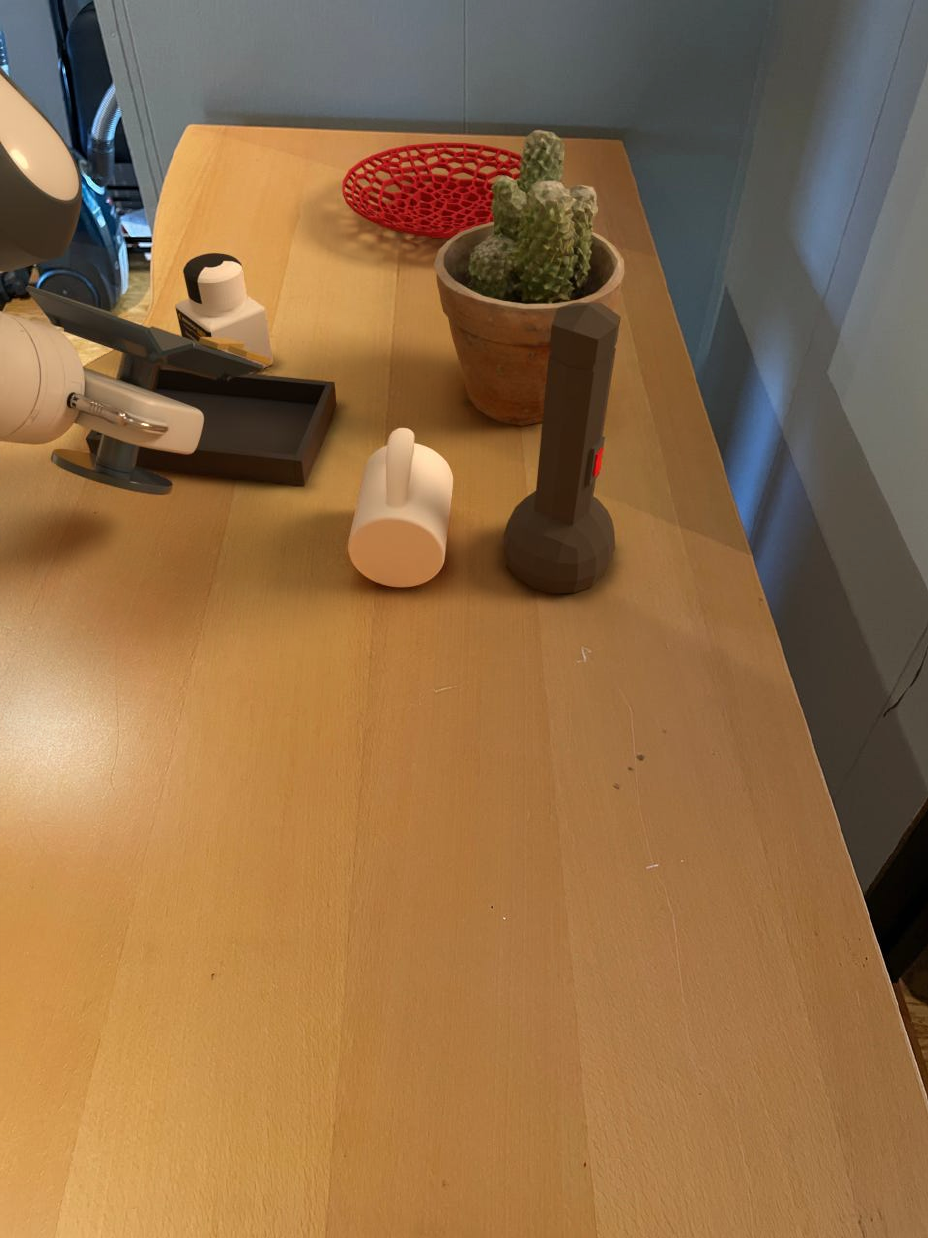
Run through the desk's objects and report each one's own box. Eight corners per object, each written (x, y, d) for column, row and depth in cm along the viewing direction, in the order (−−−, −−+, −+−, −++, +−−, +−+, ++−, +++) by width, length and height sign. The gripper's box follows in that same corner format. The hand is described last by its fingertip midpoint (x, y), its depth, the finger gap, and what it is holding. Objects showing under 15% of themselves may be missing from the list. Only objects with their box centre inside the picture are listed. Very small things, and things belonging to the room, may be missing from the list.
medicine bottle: (186, 361, 106) (163, 259, 97) (240, 339, 109) (222, 239, 100) (220, 388, 102) (199, 285, 94) (275, 364, 106) (259, 263, 97)
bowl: (490, 292, 118) (492, 254, 114) (301, 235, 127) (297, 198, 124) (589, 206, 135) (593, 170, 131) (416, 162, 145) (415, 127, 141)
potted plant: (631, 429, 99) (675, 189, 80) (464, 460, 95) (470, 215, 76) (566, 340, 110) (591, 113, 92) (415, 364, 106) (409, 131, 88)
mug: (351, 585, 82) (340, 478, 74) (366, 509, 89) (358, 402, 80) (444, 591, 82) (444, 484, 73) (453, 514, 89) (454, 407, 80)
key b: (245, 357, 84) (247, 351, 84) (227, 350, 85) (229, 344, 84) (269, 365, 88) (271, 358, 88) (251, 358, 89) (253, 352, 89)
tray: (93, 463, 93) (85, 438, 91) (144, 387, 102) (137, 362, 100) (304, 486, 91) (301, 460, 89) (337, 406, 101) (334, 381, 98)
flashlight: (482, 569, 84) (581, 612, 81) (493, 314, 66) (622, 356, 62) (535, 508, 90) (629, 546, 86) (558, 258, 71) (679, 294, 68)
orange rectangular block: (217, 349, 84) (218, 343, 84) (198, 343, 85) (199, 336, 85) (243, 349, 88) (244, 343, 88) (225, 343, 89) (226, 337, 89)
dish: (131, 506, 71) (176, 337, 69) (-35, 439, 75) (2, 276, 72) (238, 507, 87) (278, 369, 84) (96, 452, 90) (130, 318, 88)
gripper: (149, 381, 64) (250, 404, 77) (-82, 297, 69) (51, 332, 82) (127, 469, 65) (229, 477, 78) (-99, 381, 70) (34, 402, 83)
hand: (137, 403), depth 80 cm, fingers closed on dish, 3 cm apart
